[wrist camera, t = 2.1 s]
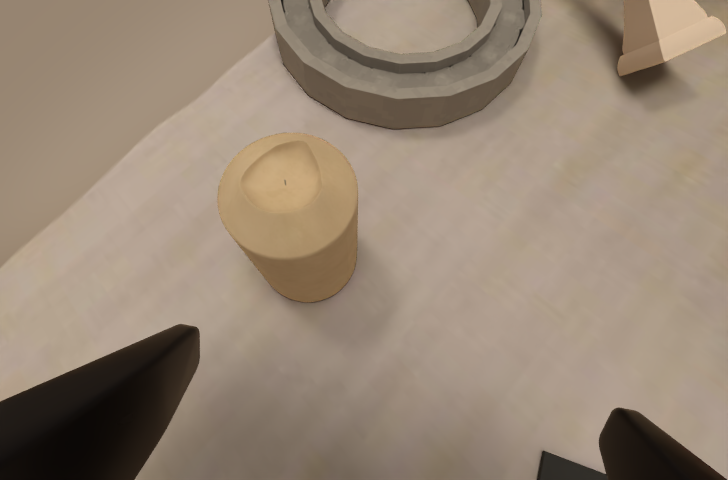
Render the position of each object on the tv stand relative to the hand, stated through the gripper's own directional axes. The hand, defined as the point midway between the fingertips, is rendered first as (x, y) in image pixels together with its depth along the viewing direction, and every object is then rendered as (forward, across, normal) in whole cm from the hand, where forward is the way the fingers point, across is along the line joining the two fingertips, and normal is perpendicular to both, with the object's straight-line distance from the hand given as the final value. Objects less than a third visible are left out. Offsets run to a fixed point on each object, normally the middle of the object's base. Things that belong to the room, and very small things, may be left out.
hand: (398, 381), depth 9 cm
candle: (+15, +5, +5) cm, 16 cm away
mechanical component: (+27, +2, -9) cm, 29 cm away
